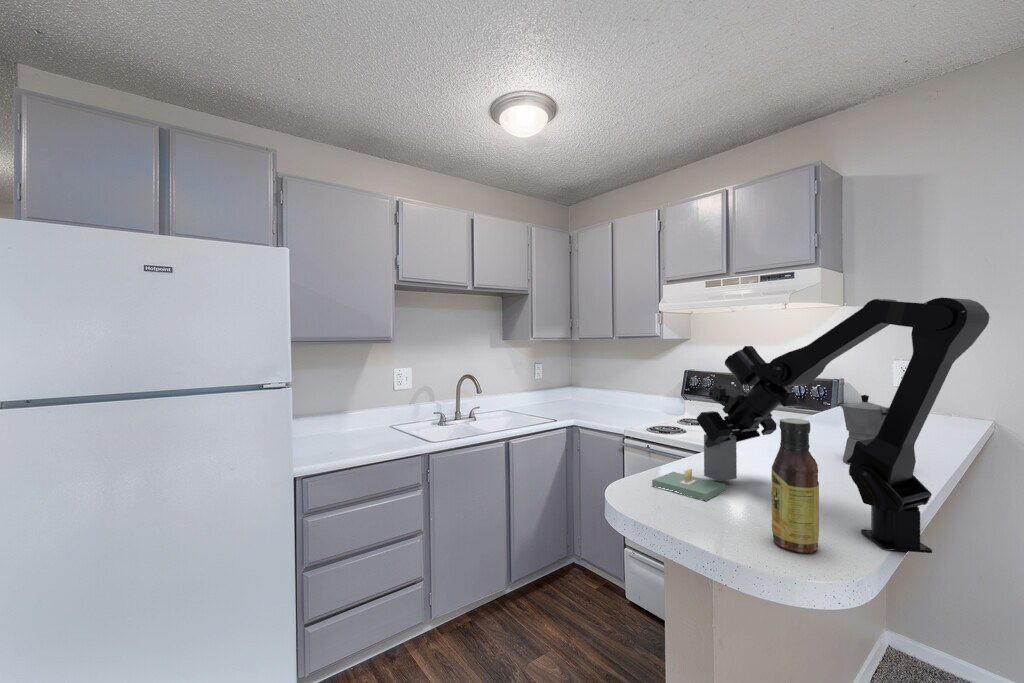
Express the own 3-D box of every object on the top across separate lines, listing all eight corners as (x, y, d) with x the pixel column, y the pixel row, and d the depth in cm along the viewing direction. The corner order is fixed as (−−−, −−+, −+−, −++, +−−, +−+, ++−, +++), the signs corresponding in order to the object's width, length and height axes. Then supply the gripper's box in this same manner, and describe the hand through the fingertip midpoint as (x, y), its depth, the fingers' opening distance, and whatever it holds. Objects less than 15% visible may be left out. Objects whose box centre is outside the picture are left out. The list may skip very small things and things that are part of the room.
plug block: (736, 478, 99) (736, 435, 99) (720, 481, 97) (720, 437, 97) (719, 473, 103) (719, 432, 103) (704, 475, 101) (703, 434, 101)
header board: (725, 491, 94) (725, 472, 94) (705, 501, 88) (705, 481, 88) (673, 478, 103) (673, 461, 103) (652, 486, 97) (652, 468, 97)
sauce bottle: (775, 533, 74) (775, 414, 74) (820, 544, 70) (820, 418, 70) (768, 547, 69) (767, 420, 69) (816, 560, 65) (816, 425, 65)
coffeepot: (826, 459, 119) (826, 392, 119) (853, 456, 122) (853, 391, 122) (887, 476, 104) (887, 400, 104) (917, 473, 107) (917, 398, 107)
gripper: (763, 371, 100) (723, 413, 111) (703, 374, 93) (665, 419, 103) (798, 411, 93) (751, 451, 103) (736, 418, 86) (692, 461, 96)
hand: (715, 444), depth 101 cm, fingers closed on plug block, 5 cm apart
